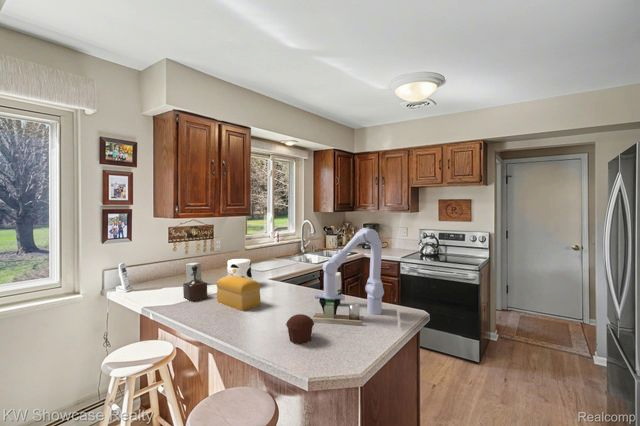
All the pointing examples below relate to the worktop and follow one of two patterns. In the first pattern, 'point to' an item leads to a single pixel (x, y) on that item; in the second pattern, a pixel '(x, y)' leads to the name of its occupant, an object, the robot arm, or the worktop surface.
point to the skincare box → (190, 271)
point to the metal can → (354, 311)
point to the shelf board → (336, 319)
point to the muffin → (300, 328)
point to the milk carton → (338, 287)
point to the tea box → (329, 310)
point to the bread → (238, 292)
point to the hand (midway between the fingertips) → (329, 314)
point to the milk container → (240, 268)
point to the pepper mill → (195, 288)
